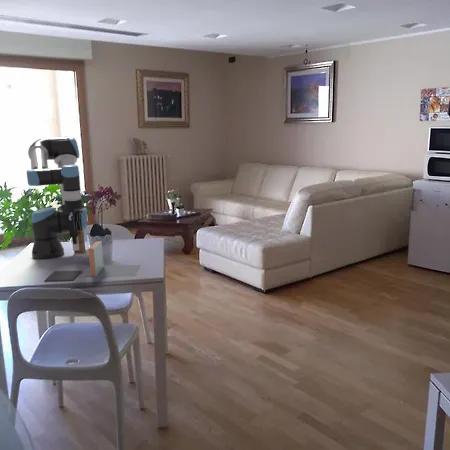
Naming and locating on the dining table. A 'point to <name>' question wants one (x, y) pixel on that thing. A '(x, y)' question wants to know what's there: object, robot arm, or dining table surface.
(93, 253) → the tile
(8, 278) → the dining table surface
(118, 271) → the mat
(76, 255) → the float tool
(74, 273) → the pad
